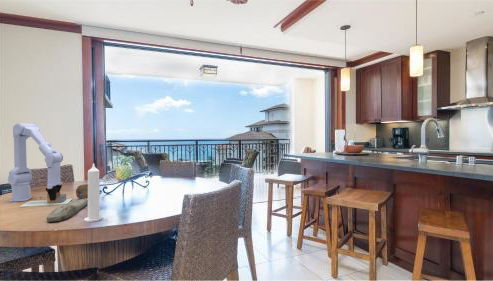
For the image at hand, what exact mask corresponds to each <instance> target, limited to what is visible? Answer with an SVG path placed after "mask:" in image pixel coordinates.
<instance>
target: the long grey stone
mask: <svg viewBox="0 0 493 281" xmlns="http://www.w3.org/2000/svg"><path fill="white" fill-rule="evenodd" d="M86 206H88V198H86V199H76V200H72V201H71V202H69V203H68V204H65V205H60V206H59V207H56V208H55V209H54V210H52V211H51V212H50V213H48V215H47V216H46V221H47V222H48V223H51V222H52V223H53V222H62V221H64V220H67V219H69V218H71V217H73V216H74V215H75V214H77V213H78V212H79V210H82V209H83V208H85V207H86Z"/></svg>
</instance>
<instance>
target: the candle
mask: <svg viewBox="0 0 493 281" xmlns="http://www.w3.org/2000/svg"><path fill="white" fill-rule="evenodd" d="M87 183H88V198H87V200H88V203H87V217H84V219H83V220H84V222H86V223H93V222H94V223H95V222H98V221H99V222H100V221H101V220H103V218H104V217H103V215H100V170H99V169H98V168H97V167H96V164H95V163H94V162H93V163H92V167H91V168H90V169H88V171H87Z"/></svg>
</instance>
